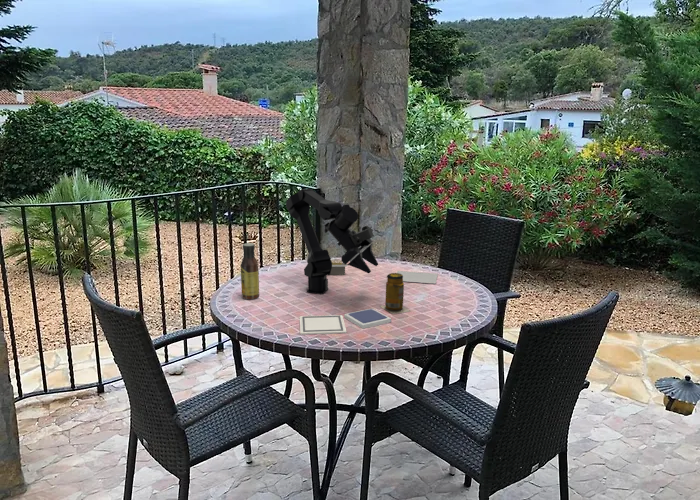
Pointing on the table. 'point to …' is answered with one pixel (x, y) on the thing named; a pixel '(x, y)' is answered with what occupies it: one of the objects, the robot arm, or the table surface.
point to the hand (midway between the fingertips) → (373, 268)
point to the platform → (338, 268)
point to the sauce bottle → (249, 273)
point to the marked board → (322, 324)
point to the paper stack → (418, 277)
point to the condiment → (394, 294)
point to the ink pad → (367, 318)
